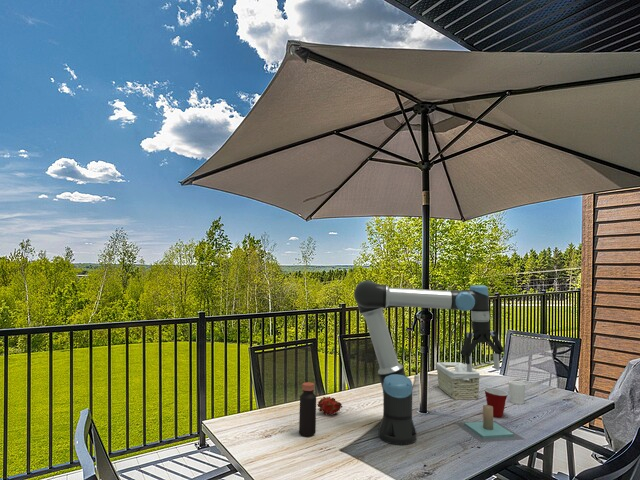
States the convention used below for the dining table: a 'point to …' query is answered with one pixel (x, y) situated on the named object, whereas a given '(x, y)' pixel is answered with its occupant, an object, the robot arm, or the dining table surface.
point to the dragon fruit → (329, 405)
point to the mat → (516, 437)
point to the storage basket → (458, 380)
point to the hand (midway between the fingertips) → (483, 370)
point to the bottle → (307, 411)
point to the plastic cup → (496, 400)
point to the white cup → (517, 392)
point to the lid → (488, 426)
